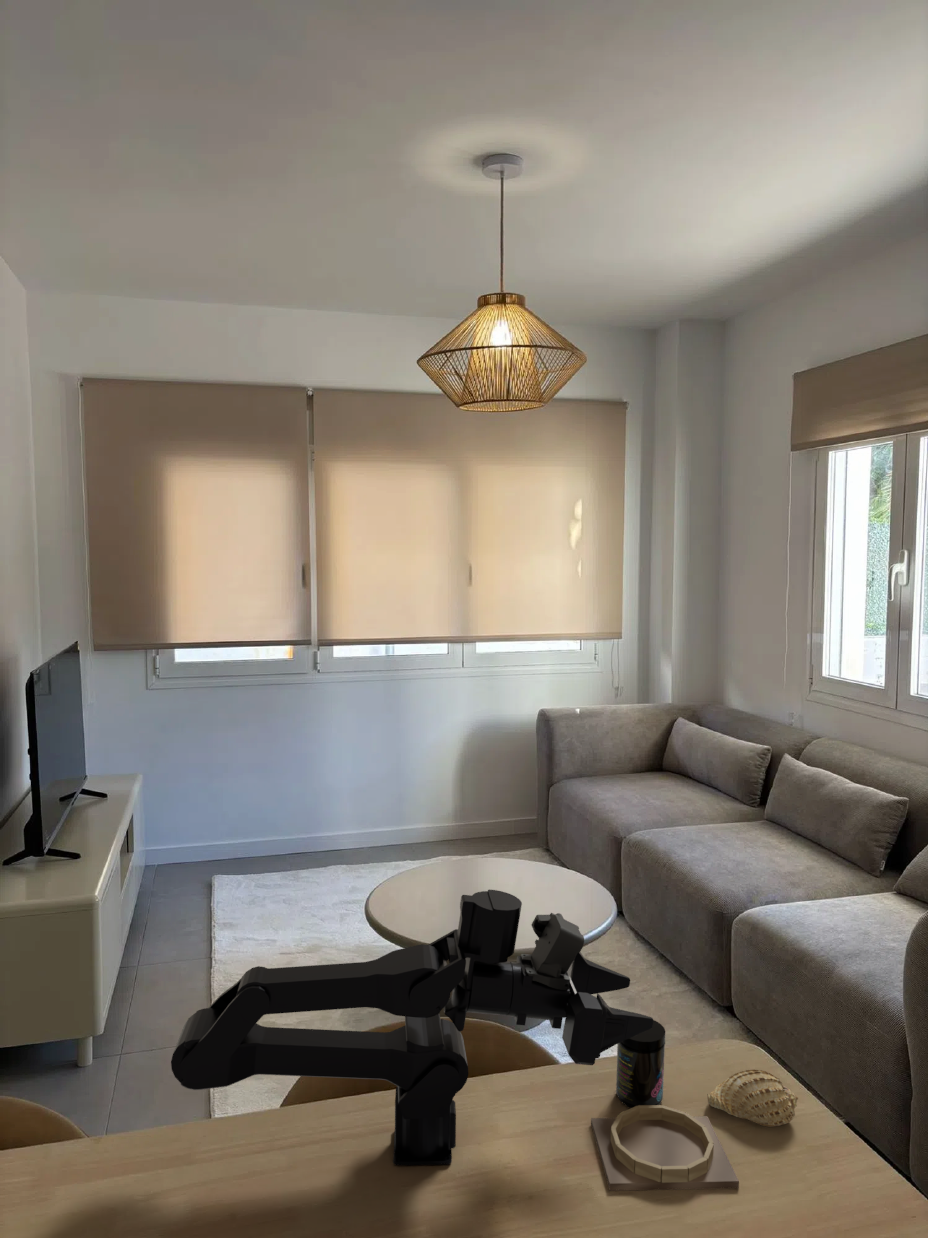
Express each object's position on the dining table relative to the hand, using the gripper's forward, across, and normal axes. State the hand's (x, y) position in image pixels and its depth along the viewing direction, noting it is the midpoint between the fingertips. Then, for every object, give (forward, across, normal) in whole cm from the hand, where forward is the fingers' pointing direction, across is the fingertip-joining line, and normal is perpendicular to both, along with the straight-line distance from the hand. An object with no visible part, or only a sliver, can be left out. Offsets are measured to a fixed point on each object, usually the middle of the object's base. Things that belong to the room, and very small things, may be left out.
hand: (640, 1002), depth 105 cm
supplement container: (+5, +7, +16) cm, 18 cm away
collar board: (+4, -4, +16) cm, 17 cm away
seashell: (+17, +3, +14) cm, 23 cm away
